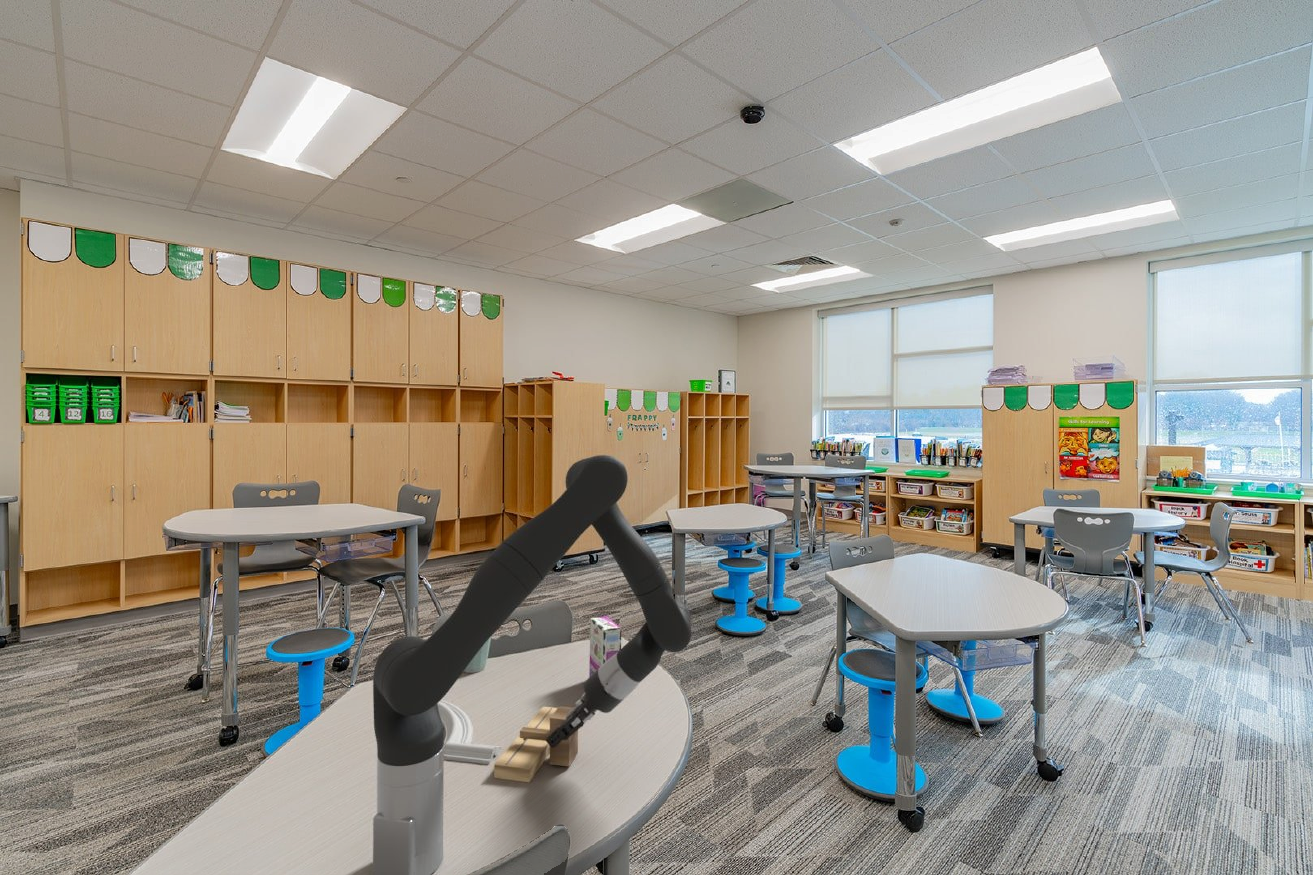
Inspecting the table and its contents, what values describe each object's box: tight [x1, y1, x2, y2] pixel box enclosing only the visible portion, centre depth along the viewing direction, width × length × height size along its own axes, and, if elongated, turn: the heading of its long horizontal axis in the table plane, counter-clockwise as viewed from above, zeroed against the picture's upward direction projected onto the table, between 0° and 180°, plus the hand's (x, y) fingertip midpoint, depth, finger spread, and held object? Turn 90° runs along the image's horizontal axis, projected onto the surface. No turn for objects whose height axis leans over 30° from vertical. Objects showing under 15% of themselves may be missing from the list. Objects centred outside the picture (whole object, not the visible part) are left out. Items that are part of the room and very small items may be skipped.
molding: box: [437, 686, 503, 765], centre depth 131 cm, size 42×12×3 cm, turn 35°
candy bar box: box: [588, 616, 623, 678], centre depth 151 cm, size 11×5×16 cm, turn 25°
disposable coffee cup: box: [463, 636, 492, 674], centre depth 161 cm, size 11×11×15 cm
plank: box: [493, 706, 558, 783], centre depth 122 cm, size 24×7×3 cm, turn 169°
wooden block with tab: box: [519, 706, 579, 767], centre depth 117 cm, size 5×11×9 cm, turn 78°
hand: (555, 736), depth 117 cm, fingers closed on wooden block with tab, 5 cm apart
